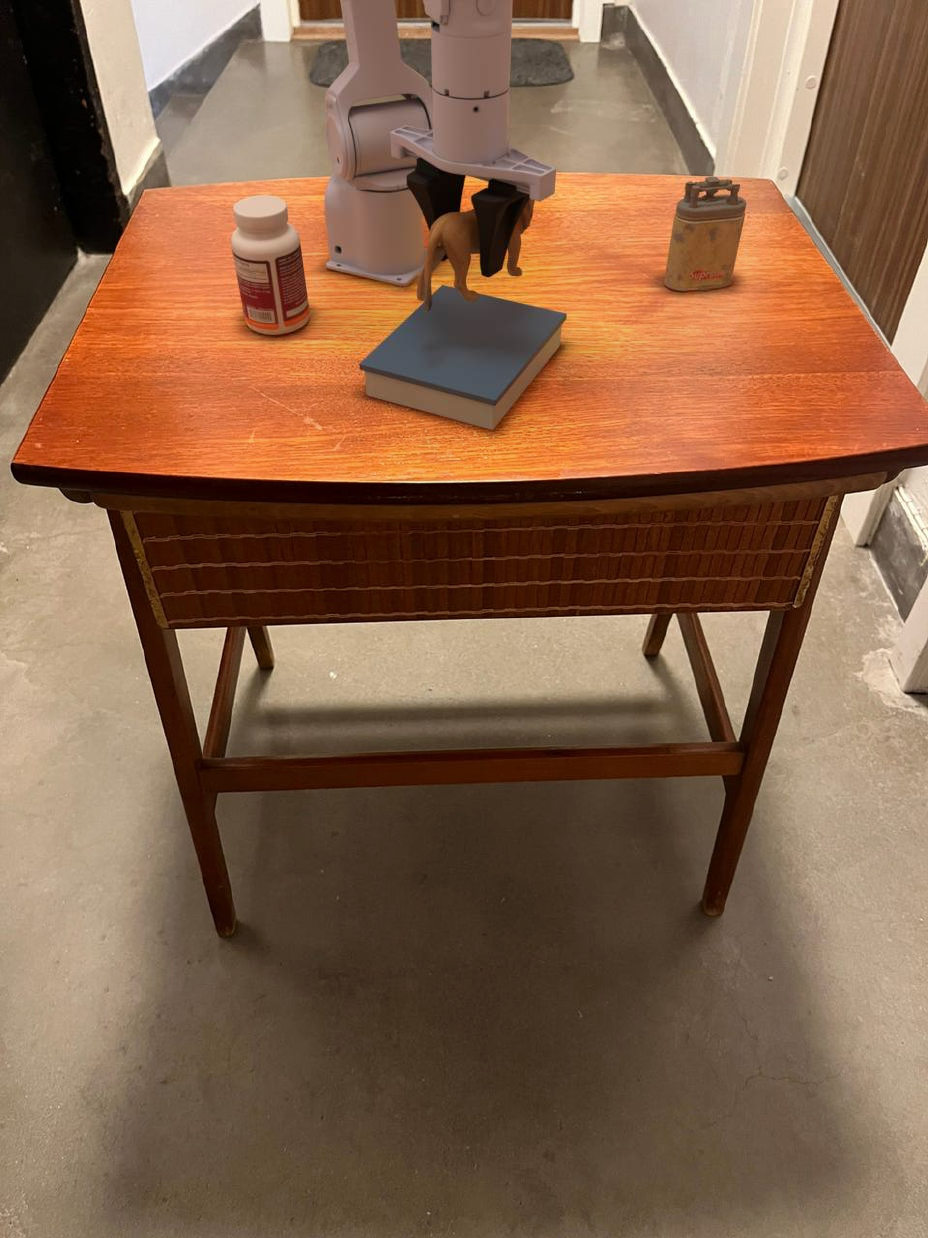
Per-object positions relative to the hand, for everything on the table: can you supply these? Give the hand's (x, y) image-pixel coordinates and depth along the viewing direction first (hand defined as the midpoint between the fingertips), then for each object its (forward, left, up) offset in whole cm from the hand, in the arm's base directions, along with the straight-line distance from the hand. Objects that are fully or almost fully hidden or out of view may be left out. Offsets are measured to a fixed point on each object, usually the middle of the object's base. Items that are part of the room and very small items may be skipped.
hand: (469, 264), depth 82 cm
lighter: (+14, +24, -10) cm, 30 cm away
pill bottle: (-20, -1, -10) cm, 22 cm away
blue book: (0, -1, -9) cm, 9 cm away
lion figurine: (0, +1, -2) cm, 2 cm away
